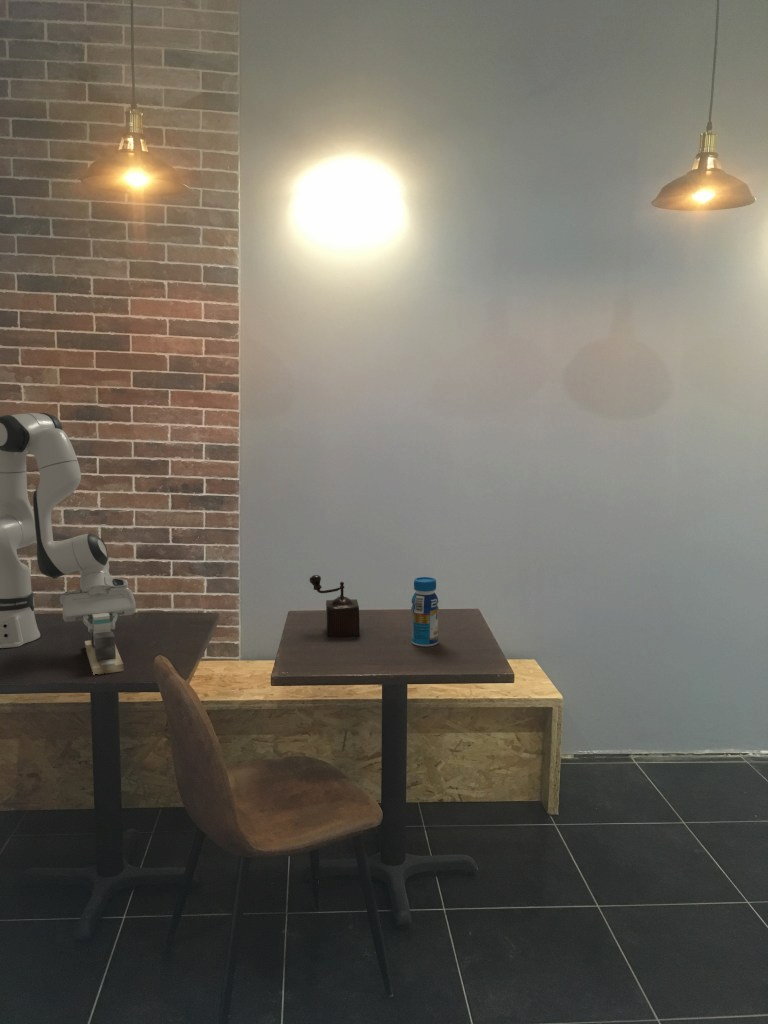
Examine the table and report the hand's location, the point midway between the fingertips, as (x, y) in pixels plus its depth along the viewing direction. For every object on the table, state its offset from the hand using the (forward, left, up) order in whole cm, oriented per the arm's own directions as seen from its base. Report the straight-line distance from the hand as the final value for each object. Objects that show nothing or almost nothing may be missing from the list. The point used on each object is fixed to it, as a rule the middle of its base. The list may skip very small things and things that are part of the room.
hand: (102, 629), depth 236 cm
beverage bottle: (+91, -25, -9) cm, 95 cm away
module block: (0, +1, -5) cm, 5 cm away
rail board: (0, +1, -9) cm, 9 cm away
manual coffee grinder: (+70, -3, -9) cm, 71 cm away
